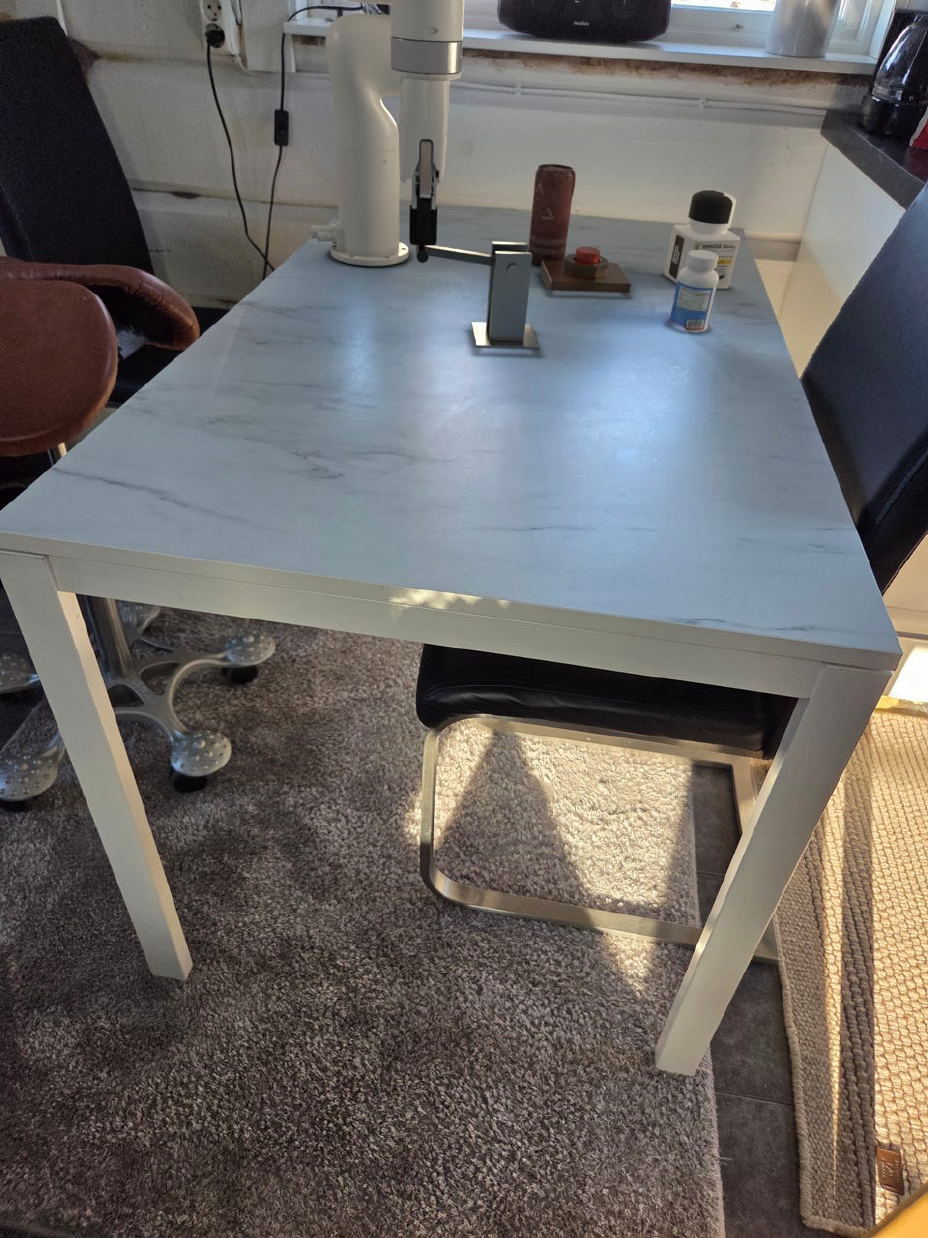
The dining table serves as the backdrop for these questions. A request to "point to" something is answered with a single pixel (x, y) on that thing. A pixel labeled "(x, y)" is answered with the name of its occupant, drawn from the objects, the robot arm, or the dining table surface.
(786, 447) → the dining table surface
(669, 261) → the container
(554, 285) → the button block
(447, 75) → the robot arm
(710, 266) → the pill bottle
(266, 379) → the dining table surface
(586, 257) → the button
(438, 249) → the tap lever
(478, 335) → the grey lever stand
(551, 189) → the can
